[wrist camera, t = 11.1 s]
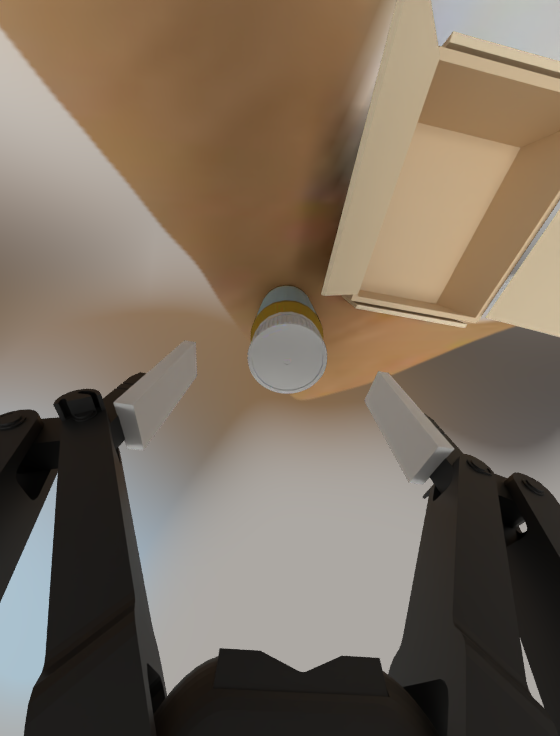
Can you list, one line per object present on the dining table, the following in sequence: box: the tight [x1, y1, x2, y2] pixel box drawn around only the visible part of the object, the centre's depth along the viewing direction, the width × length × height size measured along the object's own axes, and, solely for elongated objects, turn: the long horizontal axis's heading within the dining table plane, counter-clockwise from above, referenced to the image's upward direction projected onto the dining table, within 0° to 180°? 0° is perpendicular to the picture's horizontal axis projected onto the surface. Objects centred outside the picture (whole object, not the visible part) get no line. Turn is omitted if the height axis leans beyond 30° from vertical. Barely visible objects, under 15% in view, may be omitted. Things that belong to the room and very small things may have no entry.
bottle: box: [248, 285, 327, 393], centre depth 22 cm, size 7×7×15 cm
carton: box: [342, 32, 560, 328], centre depth 20 cm, size 17×14×7 cm
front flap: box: [321, 0, 440, 296], centre depth 14 cm, size 6×14×1 cm
